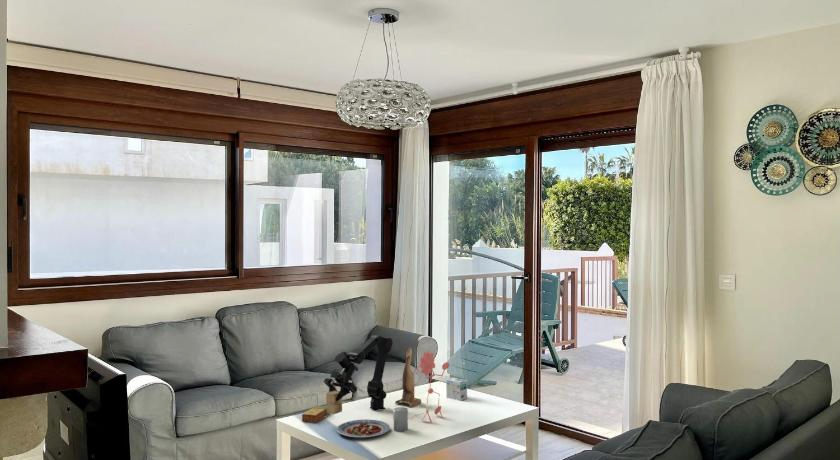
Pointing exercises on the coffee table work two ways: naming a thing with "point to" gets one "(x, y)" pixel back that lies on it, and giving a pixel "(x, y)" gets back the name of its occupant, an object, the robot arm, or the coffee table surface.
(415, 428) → the coffee table surface
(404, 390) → the bird sculpture
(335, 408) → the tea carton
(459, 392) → the light bulb box
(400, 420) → the grey tapered cylinder
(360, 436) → the ceramic plate
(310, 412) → the carton
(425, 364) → the figurine
